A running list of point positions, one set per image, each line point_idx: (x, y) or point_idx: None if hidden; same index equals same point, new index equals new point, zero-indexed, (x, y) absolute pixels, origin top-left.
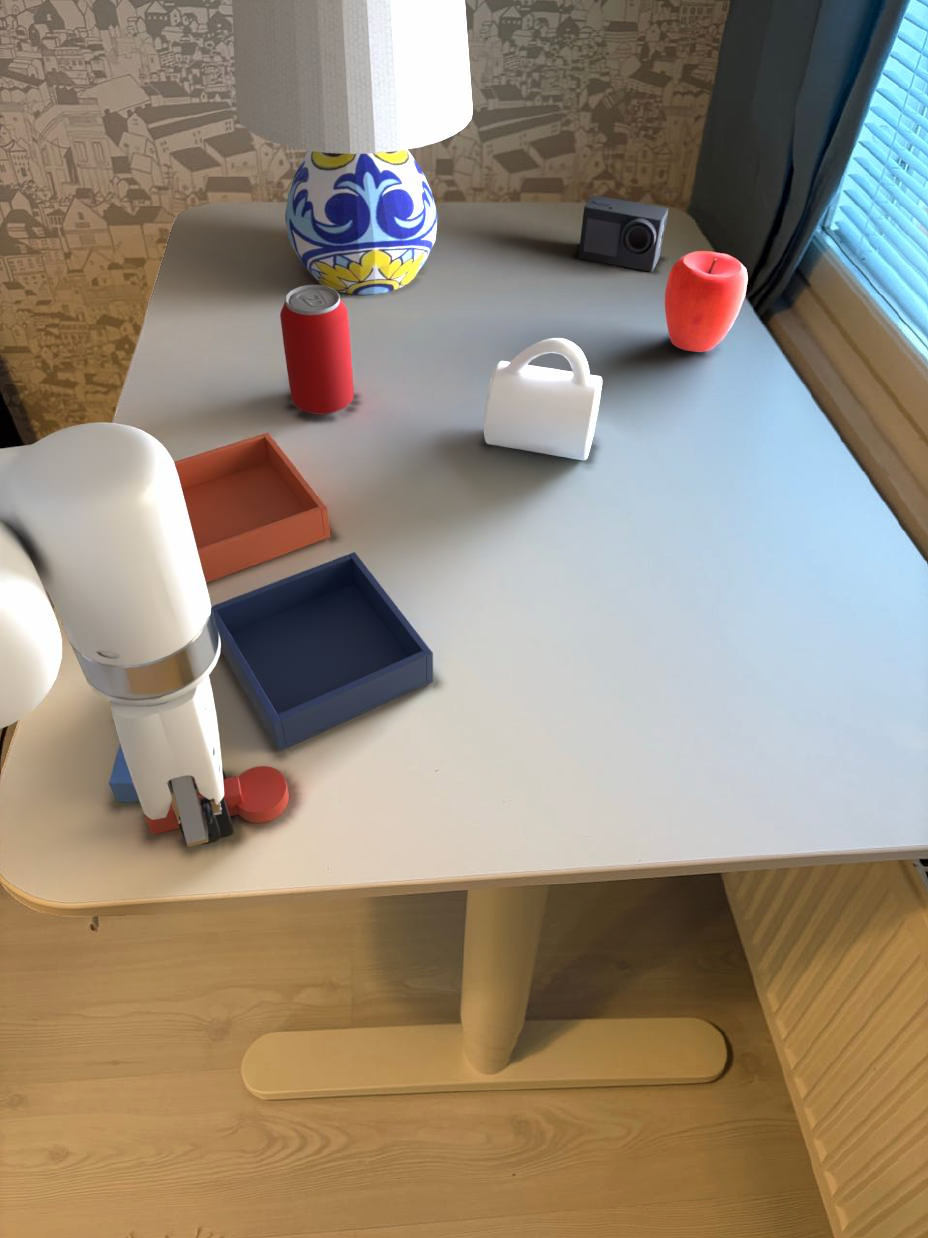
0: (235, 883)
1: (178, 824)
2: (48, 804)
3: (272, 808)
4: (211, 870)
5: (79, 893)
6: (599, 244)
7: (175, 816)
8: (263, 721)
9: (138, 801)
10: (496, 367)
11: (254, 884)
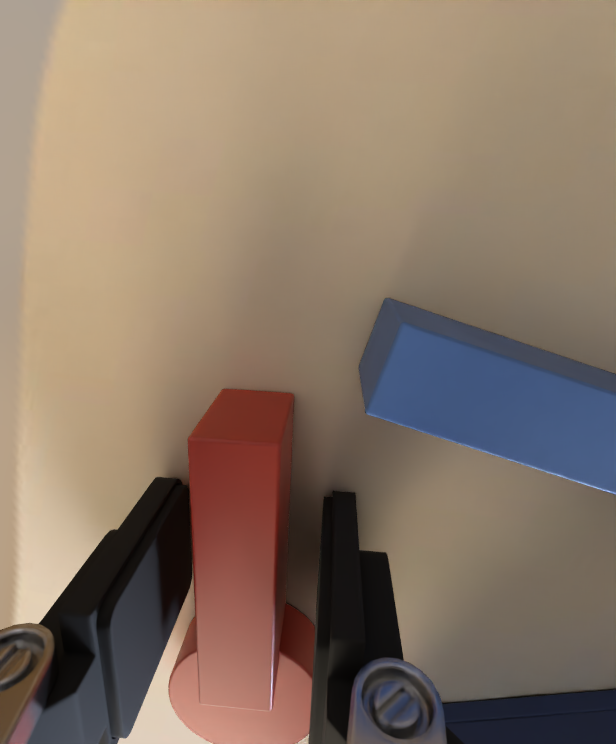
0: (33, 551)
1: (99, 556)
2: (484, 19)
3: (174, 710)
4: (77, 510)
5: (60, 135)
6: None
7: (67, 601)
8: (489, 724)
9: (360, 364)
10: None
11: (25, 586)
